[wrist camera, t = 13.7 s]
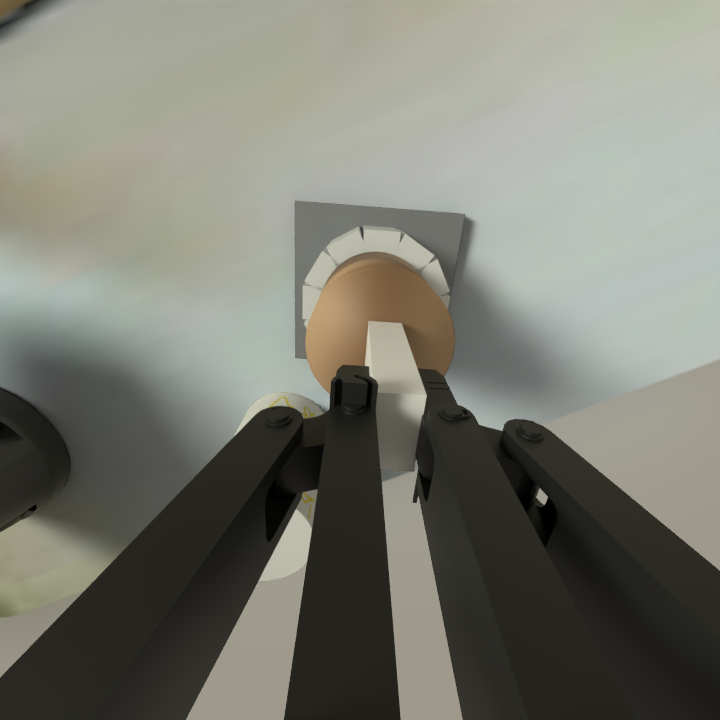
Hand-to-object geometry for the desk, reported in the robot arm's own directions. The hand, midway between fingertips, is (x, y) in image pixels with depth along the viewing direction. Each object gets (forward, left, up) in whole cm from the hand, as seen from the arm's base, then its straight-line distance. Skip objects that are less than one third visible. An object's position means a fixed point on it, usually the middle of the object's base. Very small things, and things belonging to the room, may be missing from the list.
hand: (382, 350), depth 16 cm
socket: (0, 0, -13) cm, 13 cm away
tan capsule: (0, 0, -11) cm, 11 cm away
